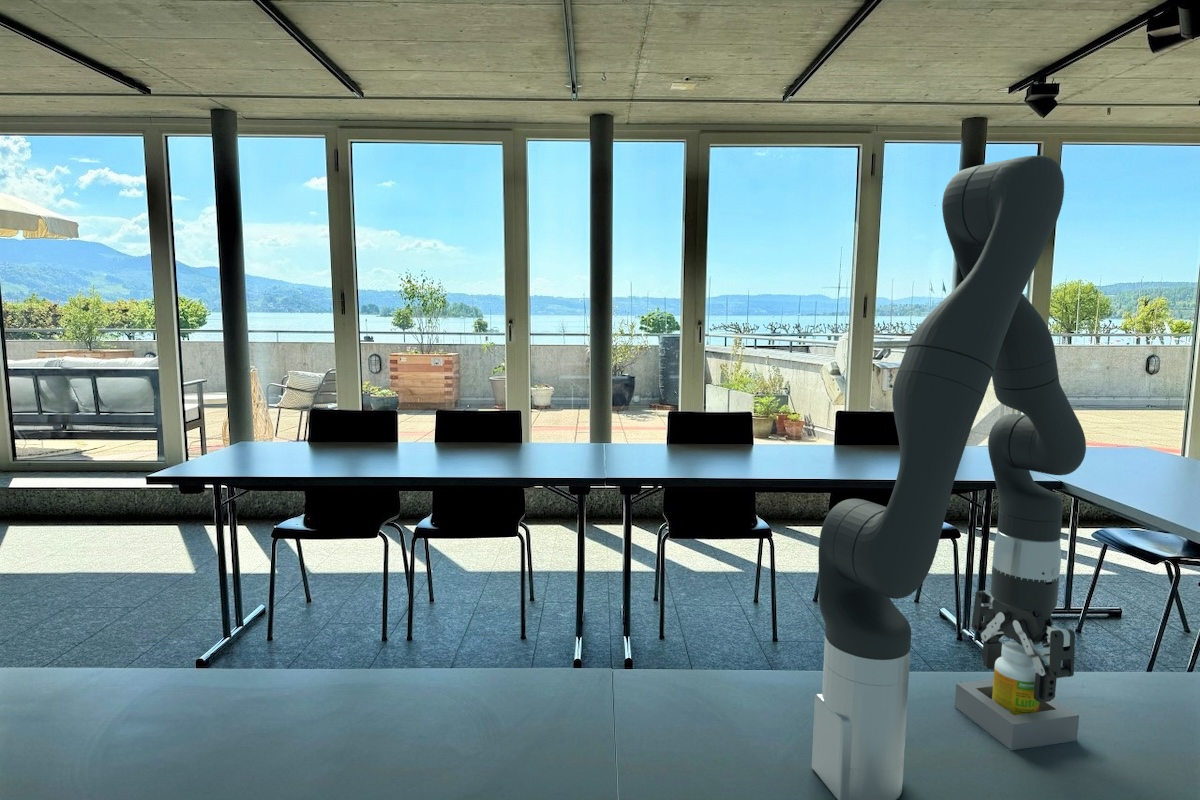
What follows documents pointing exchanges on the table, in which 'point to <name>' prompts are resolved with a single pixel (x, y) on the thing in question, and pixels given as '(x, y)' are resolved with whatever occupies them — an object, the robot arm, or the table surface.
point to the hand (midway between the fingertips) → (1016, 683)
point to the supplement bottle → (1015, 680)
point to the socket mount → (1016, 718)
